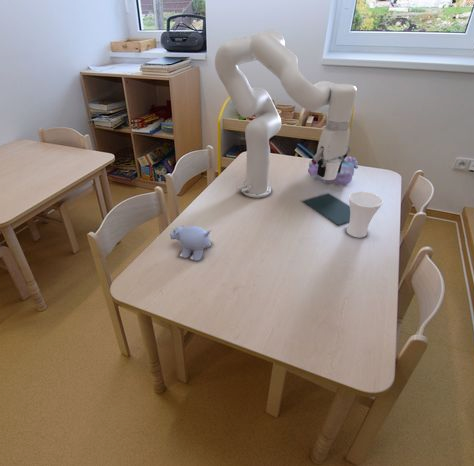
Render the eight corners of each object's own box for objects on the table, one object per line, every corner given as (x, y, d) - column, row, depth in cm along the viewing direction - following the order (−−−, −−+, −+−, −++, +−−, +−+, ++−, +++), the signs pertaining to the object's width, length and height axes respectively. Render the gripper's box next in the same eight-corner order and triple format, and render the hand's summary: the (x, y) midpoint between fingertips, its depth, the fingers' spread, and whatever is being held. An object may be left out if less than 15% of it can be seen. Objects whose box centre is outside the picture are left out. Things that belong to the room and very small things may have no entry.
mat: (338, 225, 120) (338, 224, 120) (303, 201, 135) (303, 200, 135) (364, 216, 124) (365, 215, 124) (328, 194, 139) (328, 193, 139)
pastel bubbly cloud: (334, 186, 134) (356, 145, 130) (292, 168, 148) (311, 130, 143) (351, 195, 149) (372, 158, 145) (312, 178, 163) (330, 143, 158)
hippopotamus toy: (180, 235, 119) (177, 213, 114) (218, 244, 114) (217, 221, 108) (165, 253, 111) (161, 229, 106) (205, 263, 106) (203, 240, 100)
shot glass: (337, 173, 123) (341, 156, 119) (337, 181, 118) (341, 163, 114) (318, 171, 125) (321, 154, 121) (317, 179, 120) (320, 161, 116)
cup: (373, 227, 118) (383, 194, 110) (371, 244, 110) (382, 209, 103) (342, 221, 122) (350, 189, 114) (339, 237, 114) (347, 203, 106)
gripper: (349, 117, 116) (339, 165, 126) (309, 126, 110) (302, 174, 121) (365, 123, 110) (354, 172, 120) (324, 132, 105) (316, 182, 115)
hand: (328, 173), depth 120 cm, fingers closed on shot glass, 6 cm apart
